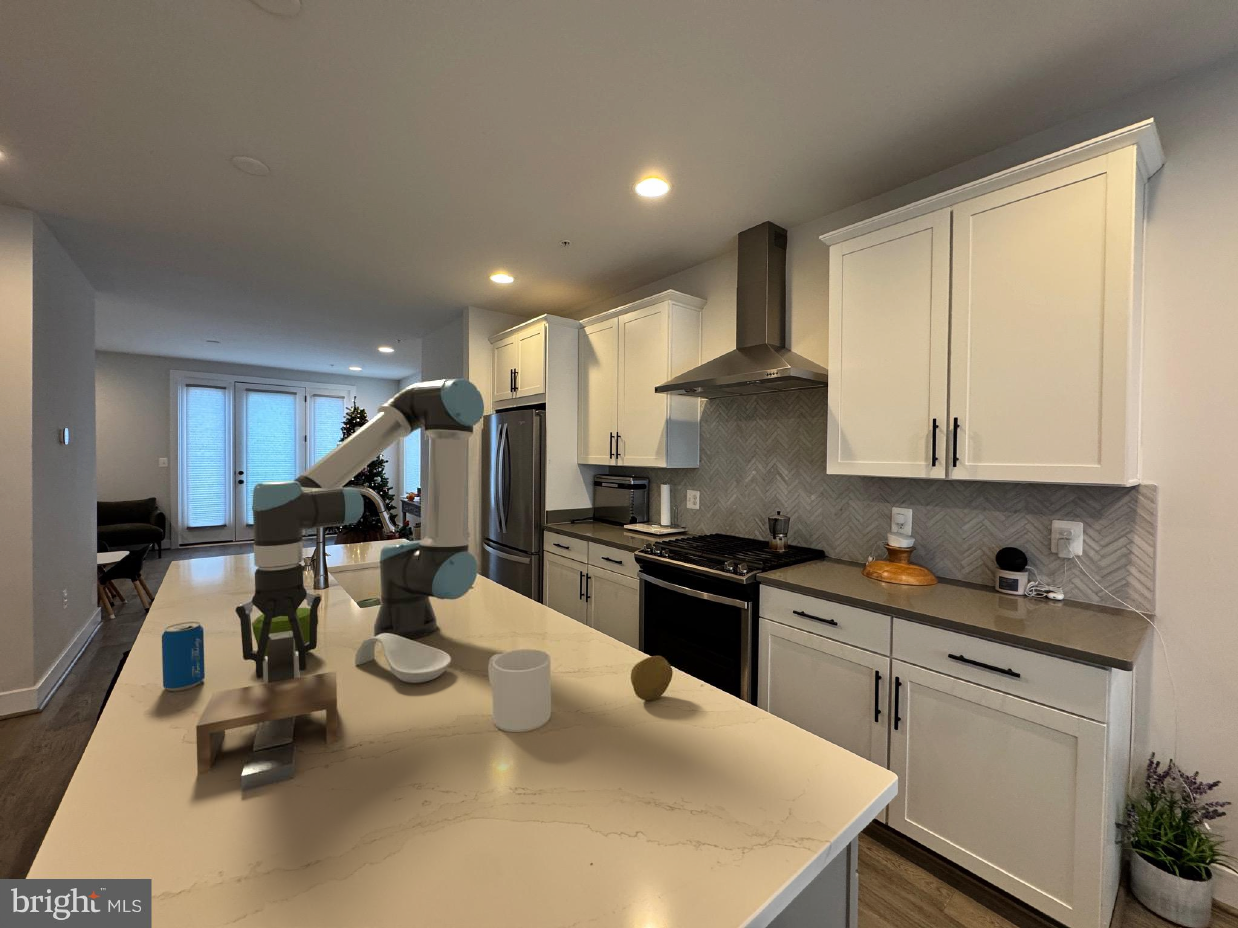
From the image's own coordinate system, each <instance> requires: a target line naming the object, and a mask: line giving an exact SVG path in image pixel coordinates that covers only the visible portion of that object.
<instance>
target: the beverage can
mask: <svg viewBox="0 0 1238 928" xmlns="http://www.w3.org/2000/svg"><path fill="white" fill-rule="evenodd" d="M204 634H205V633H204V627H203V626H202V625H201V622H200V621H185V622H180V623H173V624H171V625H169V626H166V627H165V628H164V632H163V633H162V635H161V655H162V656H161V659H162V660H161V664H162V687H163V688H164V689H167V690H169V691H172V692H178V691H184V690H188V689H192V688H193V687H197V685H199V684H200V683H201V682H202V681H203V680H204V679H205V673H206V672H205V645H204V644H205V643H204V642H205V637H204V636H205V635H204Z"/></svg>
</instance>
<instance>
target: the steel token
mask: <svg viewBox="0 0 1238 928" xmlns="http://www.w3.org/2000/svg"><path fill="white" fill-rule="evenodd" d="M296 757H297V754H296V743H291V744H288V745H283V746H278V747H272V748H269V749H263V750H260V751H256V752H255V751H254V752H251V753H247V755H246V760H245V763H244V767H243V769H242V773H241V777H240V778H241V792H244V791H248V790H253V789H256V788H259V787H264V786H269V785H272V784H276V783H280V782H284V781H285V782H286V781H289V780H291V779H293V778H294V771H295V763H296Z"/></svg>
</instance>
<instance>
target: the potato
mask: <svg viewBox="0 0 1238 928" xmlns="http://www.w3.org/2000/svg"><path fill="white" fill-rule="evenodd" d="M673 675H674V674H673V668H672V666H671V664H670V662H669V661H668V660H667V659H666V658H665V657H663V656H662V655H653V656H649V657H646V658H644V659H642V660H640V661H639V662H637V663H636V664H634V666H632V669H631V672H630V682H631V685H632V687H633V691H634V694H635V695H636V697H637V698H639V699H641V700H642V701H647V702H648V701H656V700H658V699H659V698H661V697H662V695H664V694H665V692H666V691H667V689H668V687H669V685H670V683H671V681H672V678H673Z"/></svg>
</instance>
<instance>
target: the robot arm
mask: <svg viewBox="0 0 1238 928" xmlns="http://www.w3.org/2000/svg"><path fill="white" fill-rule="evenodd" d="M484 413H485V403H484V399H483V396H482V394H481V392H480V391H479V390H478V387H477V385H475V384H474V383H473V382H471V380H467V379H464V378H445V379H437V380H431V381H429V380H428V381H427V380H425V381H419V382H416V383H413V384H411V385H410V386H407V387H405V388H404V389H402V390H401V391H399V392H398V393H396V394H395V395H393V396H392V397H391V398H390V399H388V400H387V401H386V402H384V403H383V404H382V405H381V406H379V407H378V409H377V414H376V415H375V416H374V417H372V418H371V419H370V420H368V421H367V422H366V423H365V424H364V425H362V426H361V427H360V428H358V429H357V430H355V432H353V433H352V434H351V435H350V436H348V437H346V439H345V440H343V441H342V442H341V443H339V444H338V445H337V446H336V447H334V448H333V449H332V450H331V451H329V452H328V453H326V455H324V456H323V457H322V458H321V459H319V460H318V461H317V462H316V463H314V464H313V465H311V466H310V467H309V468H307V470H306V471H304V472H303V473H302V474H300V475H299V476H297V477H296V478H295V479H294V480H293V481H292V480H291V481H290V480H286V481H285V480H281V481H263V482H259V483H257V484H256V485H254V488H253V492H252V506H251V510H252V518H253V519H252V520H253V540H254V541H253V557H254V558H253V559H254V562H253V564H254V567H257V568H256V569H255V570H254V595H253V597H252V599H250V600H249V601H245V602H240V603H238V604H237V606H236V608H235V613H236V615H237V616H238V618H239V620H240V633H241V635H240V636H241V650H242V658H243V660H244V661H248V660H249V661H254V663H255V676H256V679H258V680H259V679H263V684H266V683H268V660H267V656H266V657H265V651H266V646H267V639H268V636H269V632H270V627H271V623H272V618H276V617H278V616H288V620H289V622H290V625H291V629H292V632H293V636H294V640H295V643H296V647H297V650H298V651H297V652H295V653H294V678H300V677H301V676H300V675H301V672H302V671H306V669H307V653H309V652H310V651H313V650H315V649H316V648H317V643H318V625H317V614H318V612H319V611H318V609H319V606H320V604H321V602H322V595H321V594H320V593H317V594H313V593H310V592H308V591H307V589H306V588H305V586H304V565H303V564H302V562H303V561H304V554H303V553H304V551H303V550H304V549H303V547H304V545H303V531H307V530H310V529H311V530H313V529H320V528H328V527H338V526H341V527H342V526H345V525H349V524H355V523H357V522H358V521H359V520H360V519H361V517H362V516H363V514H364V509H365V508H364V499H363V497H362V493H360V491H358V489H356V488H354V487H344V486H345V485H346V484H347V483H348V482H350V480H352V479H353V478H354V477H355V476H356V475H358V474H359V473H360V472H362V470H364V469H365V468H366V467H367V466H368V465H369V464H371V463H372V462H373V461H374V460H375V459H376V458H377V457H379V456H380V455H381V454H382V453H383V452H384V451H385V450H387V449H388V448H389V447H390V446H391V445H392V444H394V443H395V442H396V441H397V440H399V439H400V438H407V437H408V436H410V435H411V434H412V433H413V432H414V431H417V430H419V429H422V428H424V433H425V434H426V435H427V436H428V438H429V439H430V443H429V444H430V445H429V449H430V450H429V468H428V471H429V472H428V489H427V511H426V512H427V515H426V533H425V537H424V538H423V539H421V540H419V539H418V540H411V541H404V542H397V543H393V544H388V545H387V544H386V545H384V546H383V547H382V548H381V550H380V556H379V568H380V569H379V570H380V571H379V573H380V606H379V610H378V613H377V616H376V619H375V622H374V624H373V625H374V626H373V634H374V636H373V637H376V636H377V635H380V634H383V633H390V634H394V635H397V636H400V637H403V638H406V639H409V640H411V639H416V638H420V637H423V636H427V635H428V634H431V633H433V632H434V631H435V630H436V629H437V625H438V624H437V623H438V622H437V616H436V613H435V611H434V607H433V605H432V602H431V600H430V597H431V598H436V599H438V600H457V599H460V598H462V597H463V596H465V595H466V594H467V593H468V592H469V591H470V589H471V588H472V587H473V585H474V584H475V581H476V579H477V575H478V567H479V566H478V562H477V559H475V556H474V555H473V554H471V552H469V541H468V540H466V538H465V537H464V536H463V533H464V513H465V511H464V508H465V489H466V486H465V485H466V483H465V482H466V463H467V462H466V461H467V441H468V440H470V438H471V437H473V436H474V426H476V425H477V424H478V423H480V422H481V420H482V419H483V417H484ZM304 601H306V602H307V603H306V605H307V606H308V607H309V608H310V630H309V642H307V643H305V640H304V637H303V633H302V630H301V626H300V622H299V619H298V614H297V609H298V608H300V606H301V604H302V603H303V602H304ZM253 607H255V608H256V609H257V610H259V611H260V612H261V613H262V614H264V620H263V626H262V630H261V635H260V640H259V644H258V648H257V649H256V650H254V648H253V646H254V645H253V644H254V643H253V630H252V620H251V617H252V616H251V613H252V612H253ZM308 651H309V652H308Z"/></svg>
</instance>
